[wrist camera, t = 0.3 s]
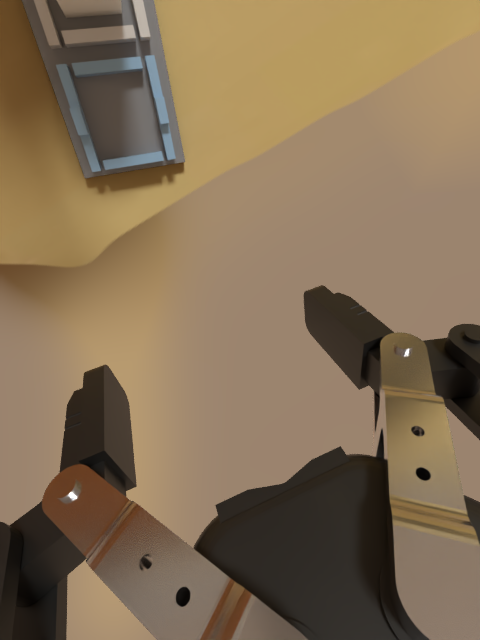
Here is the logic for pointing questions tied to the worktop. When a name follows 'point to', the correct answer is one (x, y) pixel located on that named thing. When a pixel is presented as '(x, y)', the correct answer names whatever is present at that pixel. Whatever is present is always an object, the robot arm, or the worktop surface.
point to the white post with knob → (89, 7)
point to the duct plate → (110, 85)
